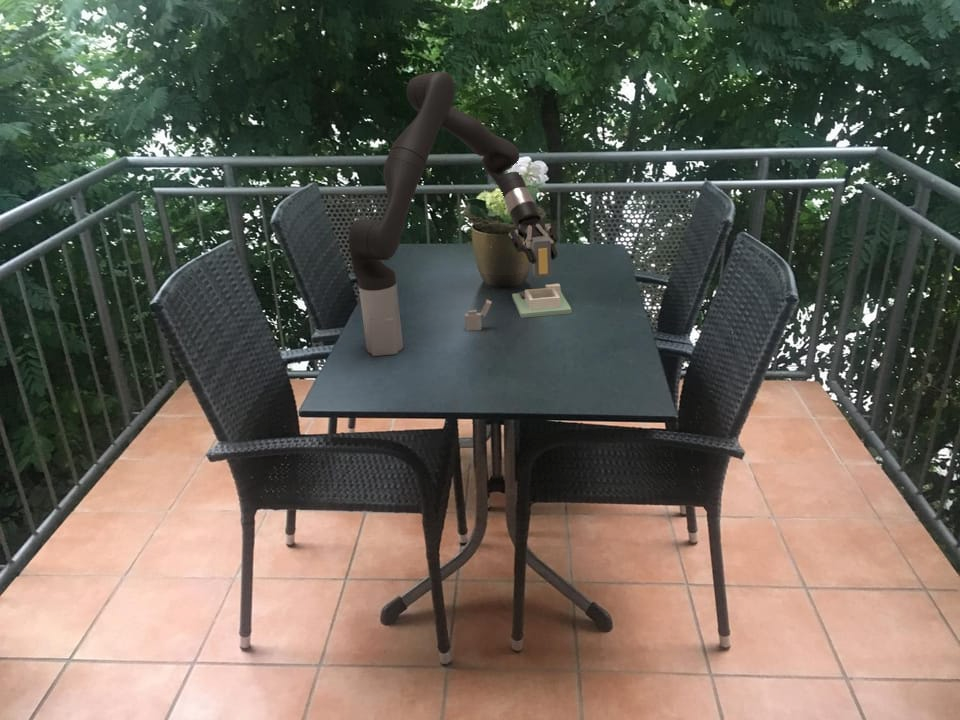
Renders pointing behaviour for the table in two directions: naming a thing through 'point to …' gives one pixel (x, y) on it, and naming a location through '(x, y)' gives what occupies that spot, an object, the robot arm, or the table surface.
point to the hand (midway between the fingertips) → (544, 260)
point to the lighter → (476, 317)
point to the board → (541, 302)
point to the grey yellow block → (541, 256)
